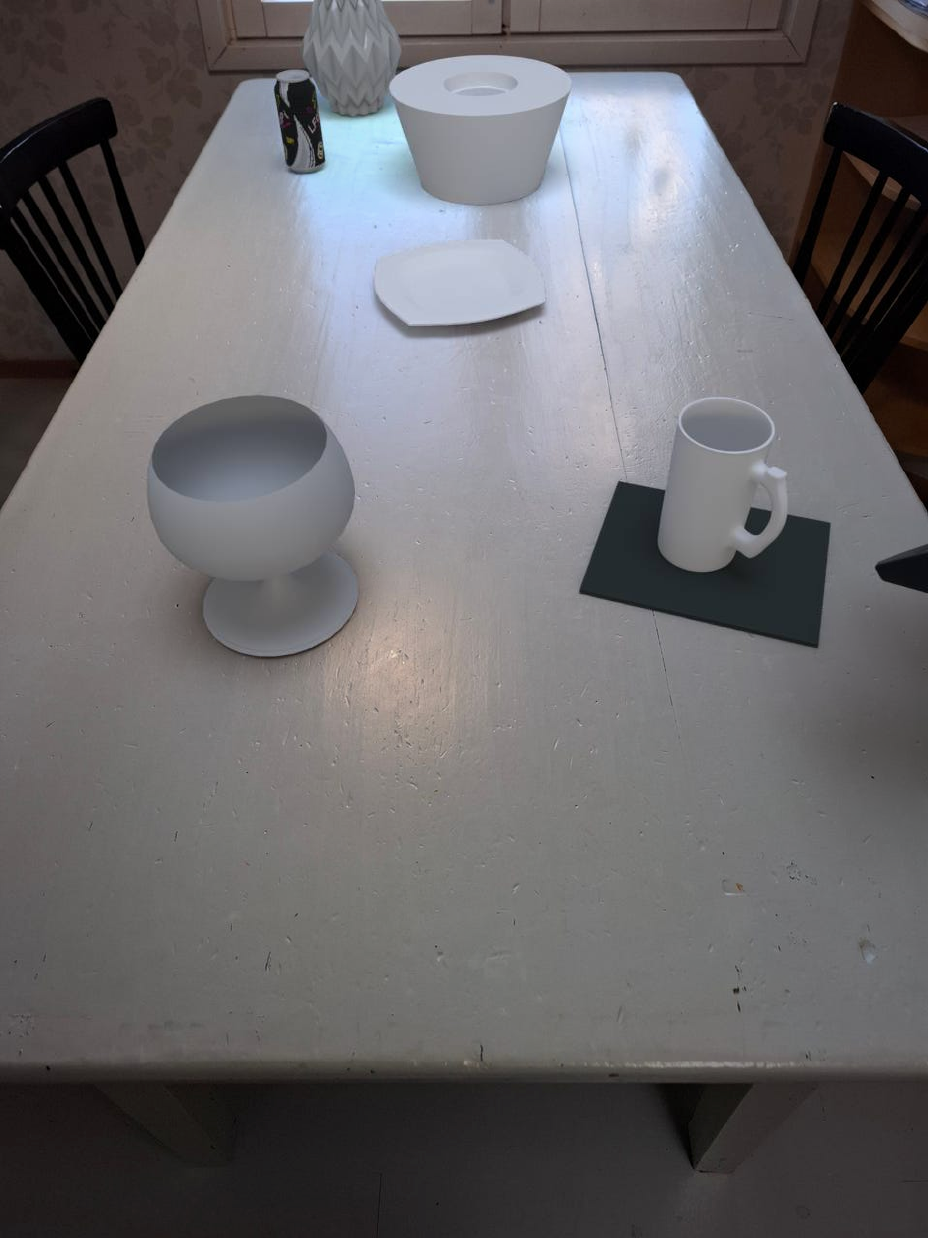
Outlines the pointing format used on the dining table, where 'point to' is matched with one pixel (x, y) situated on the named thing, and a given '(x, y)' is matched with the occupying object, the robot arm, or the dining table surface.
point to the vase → (351, 53)
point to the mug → (719, 484)
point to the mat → (731, 596)
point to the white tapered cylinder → (481, 124)
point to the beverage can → (299, 121)
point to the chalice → (258, 519)
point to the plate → (458, 282)
